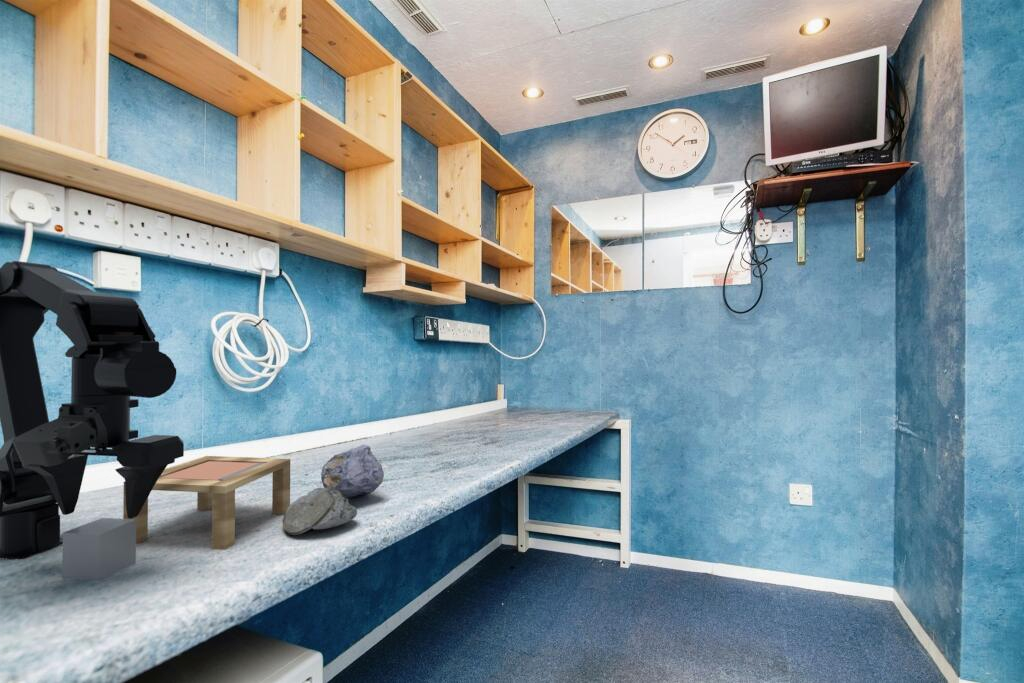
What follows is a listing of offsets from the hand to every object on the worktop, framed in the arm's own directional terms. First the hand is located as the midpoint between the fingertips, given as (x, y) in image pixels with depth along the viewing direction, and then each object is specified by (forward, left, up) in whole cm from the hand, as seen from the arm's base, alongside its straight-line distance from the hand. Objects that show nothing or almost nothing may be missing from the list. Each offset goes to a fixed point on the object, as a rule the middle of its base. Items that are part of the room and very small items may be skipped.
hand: (100, 515), depth 61 cm
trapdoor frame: (+3, +16, -7) cm, 18 cm away
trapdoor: (+8, +16, +1) cm, 18 cm away
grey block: (0, 0, -7) cm, 7 cm away
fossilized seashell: (+16, +19, -9) cm, 27 cm away
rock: (+19, +30, -7) cm, 36 cm away
